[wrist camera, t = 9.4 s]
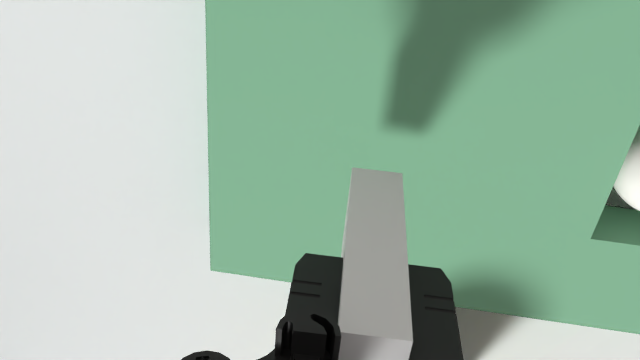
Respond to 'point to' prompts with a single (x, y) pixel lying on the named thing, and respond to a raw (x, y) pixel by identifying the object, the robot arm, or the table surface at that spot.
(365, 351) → the robot arm
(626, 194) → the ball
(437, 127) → the green
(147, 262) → the table surface
